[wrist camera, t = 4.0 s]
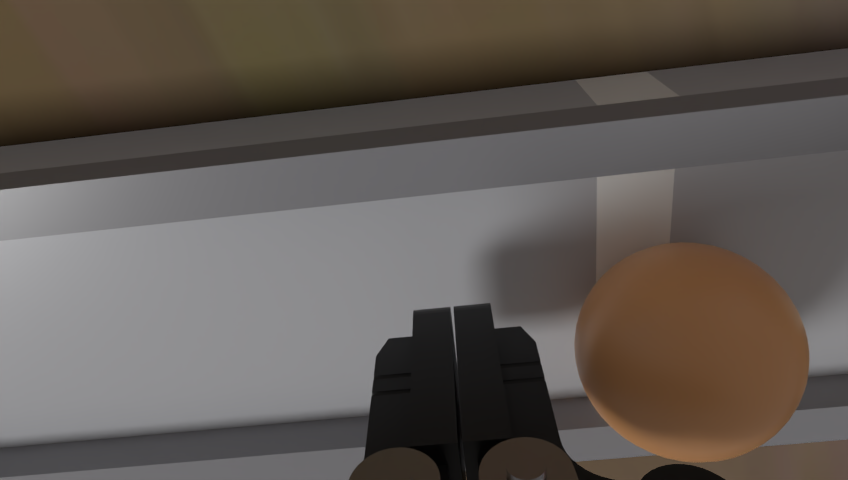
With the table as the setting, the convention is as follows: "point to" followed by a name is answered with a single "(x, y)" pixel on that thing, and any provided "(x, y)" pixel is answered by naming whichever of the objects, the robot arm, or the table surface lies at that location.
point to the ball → (691, 352)
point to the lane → (390, 258)
